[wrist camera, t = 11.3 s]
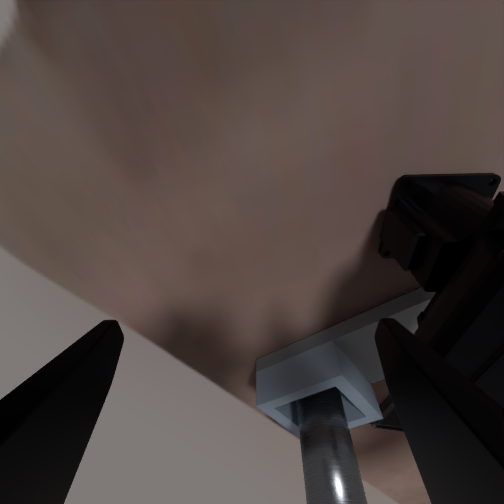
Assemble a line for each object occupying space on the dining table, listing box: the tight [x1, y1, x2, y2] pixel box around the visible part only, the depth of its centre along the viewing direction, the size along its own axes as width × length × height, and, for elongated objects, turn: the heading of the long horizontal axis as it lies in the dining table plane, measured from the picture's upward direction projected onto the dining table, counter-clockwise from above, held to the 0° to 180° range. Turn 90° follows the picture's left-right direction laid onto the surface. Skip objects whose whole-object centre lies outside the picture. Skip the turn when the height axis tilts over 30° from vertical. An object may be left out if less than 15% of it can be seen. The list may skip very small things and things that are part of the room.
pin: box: [296, 386, 367, 504], centre depth 24 cm, size 5×5×13 cm
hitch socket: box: [256, 287, 436, 438], centre depth 27 cm, size 18×9×5 cm, turn 127°
